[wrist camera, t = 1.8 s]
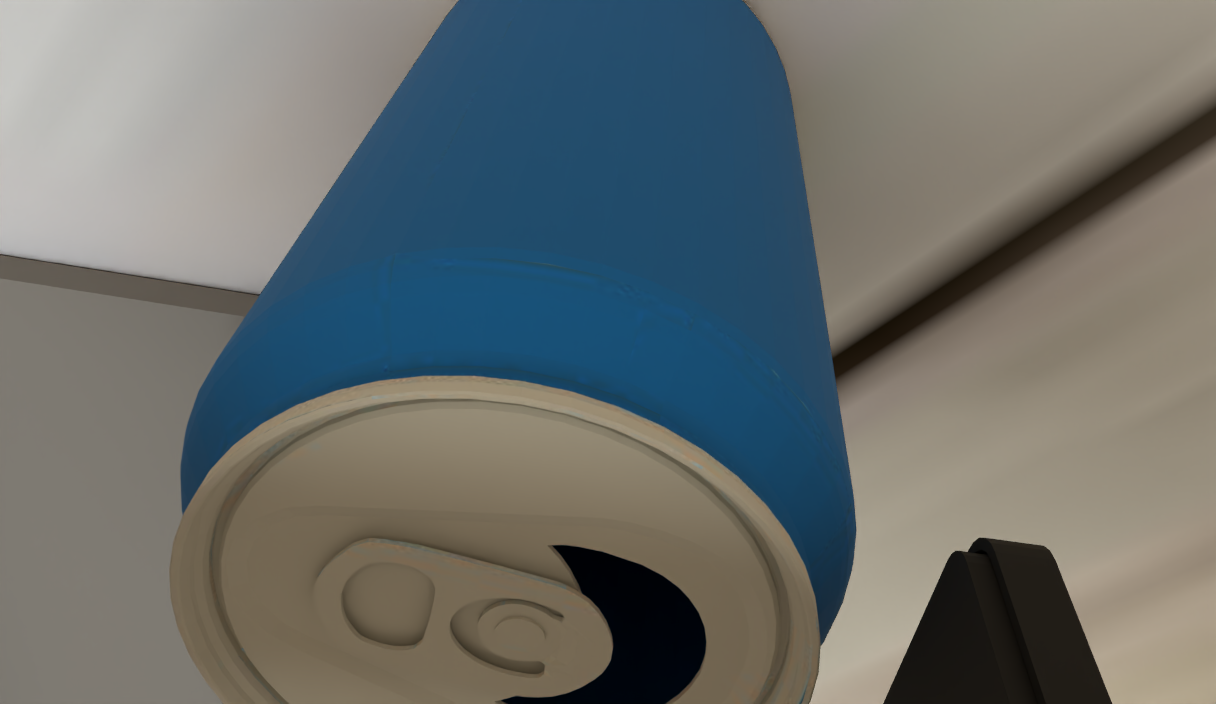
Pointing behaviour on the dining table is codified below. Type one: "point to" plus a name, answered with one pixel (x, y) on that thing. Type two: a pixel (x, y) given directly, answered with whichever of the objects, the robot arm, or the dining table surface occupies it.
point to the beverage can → (534, 390)
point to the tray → (97, 478)
